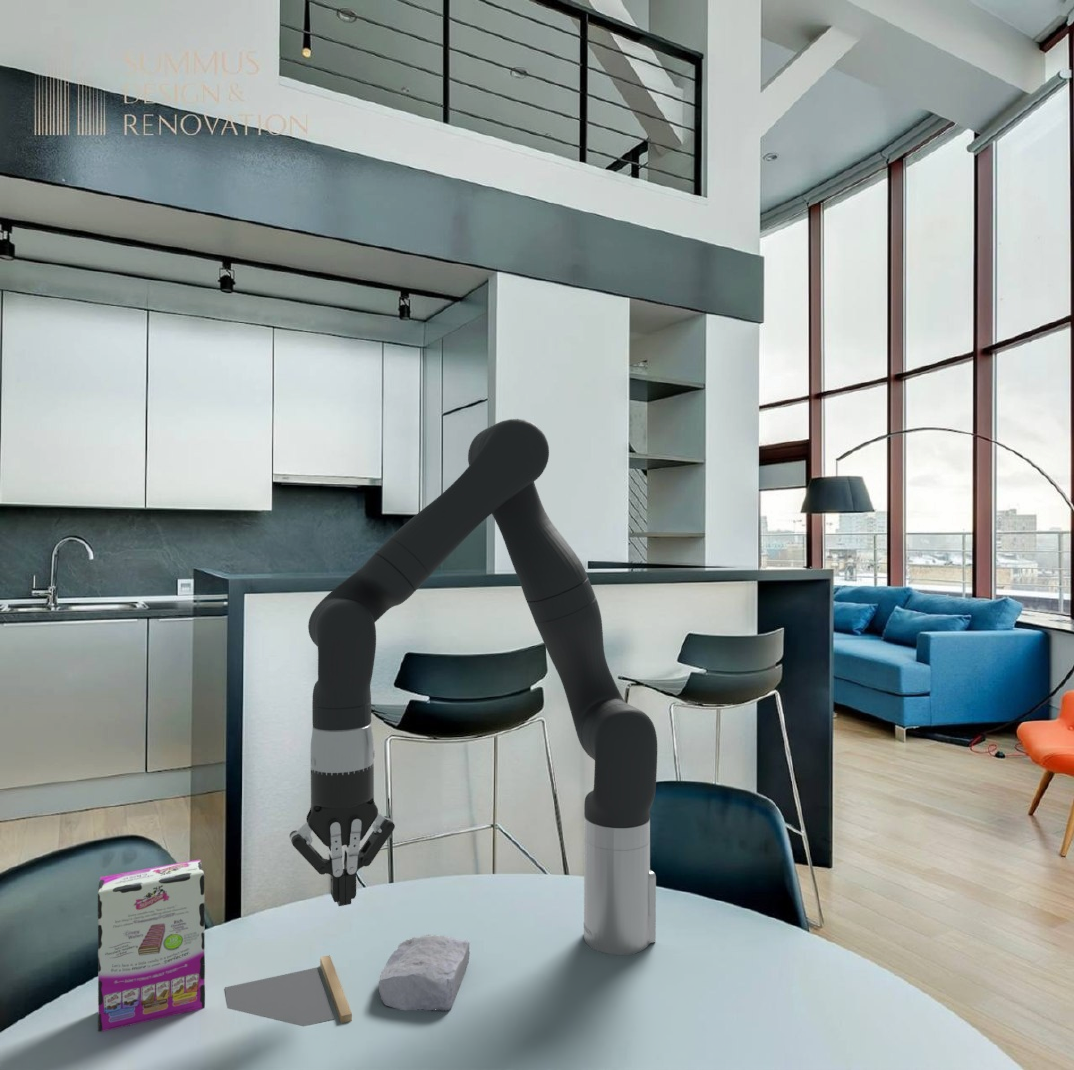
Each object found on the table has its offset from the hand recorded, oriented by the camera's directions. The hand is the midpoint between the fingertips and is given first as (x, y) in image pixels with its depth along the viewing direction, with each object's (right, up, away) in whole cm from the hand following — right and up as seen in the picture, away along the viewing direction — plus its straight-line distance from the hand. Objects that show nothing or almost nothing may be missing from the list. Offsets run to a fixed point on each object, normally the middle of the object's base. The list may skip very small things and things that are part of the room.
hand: (343, 902), depth 97 cm
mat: (-7, -11, -3) cm, 13 cm away
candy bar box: (-21, -11, -5) cm, 24 cm away
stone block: (+5, -10, +2) cm, 12 cm away
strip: (-1, -11, 0) cm, 11 cm away
